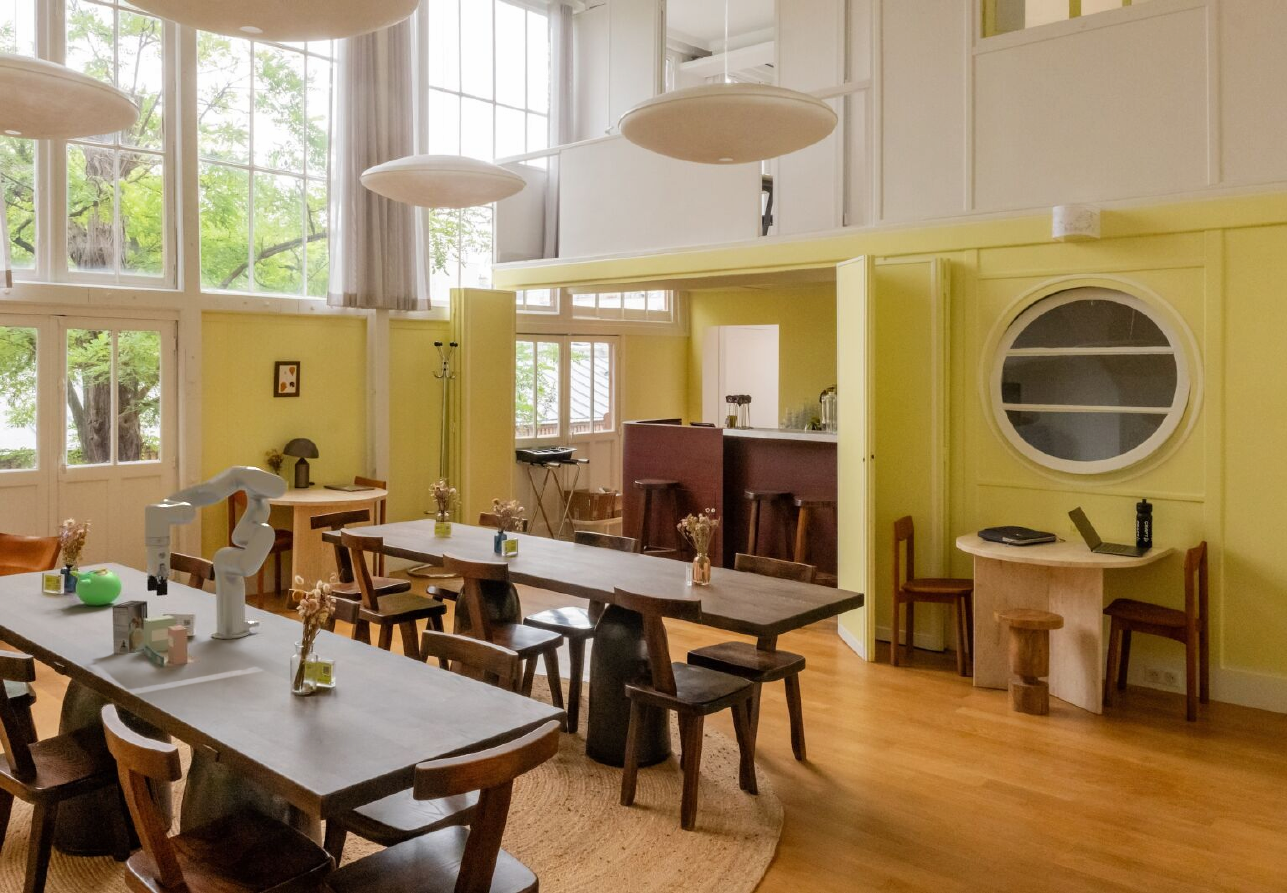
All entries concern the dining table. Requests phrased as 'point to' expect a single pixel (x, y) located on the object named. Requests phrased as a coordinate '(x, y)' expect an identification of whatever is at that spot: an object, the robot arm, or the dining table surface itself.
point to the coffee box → (129, 626)
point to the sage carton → (157, 632)
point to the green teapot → (97, 586)
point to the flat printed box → (163, 657)
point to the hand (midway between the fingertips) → (157, 592)
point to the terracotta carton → (177, 645)
